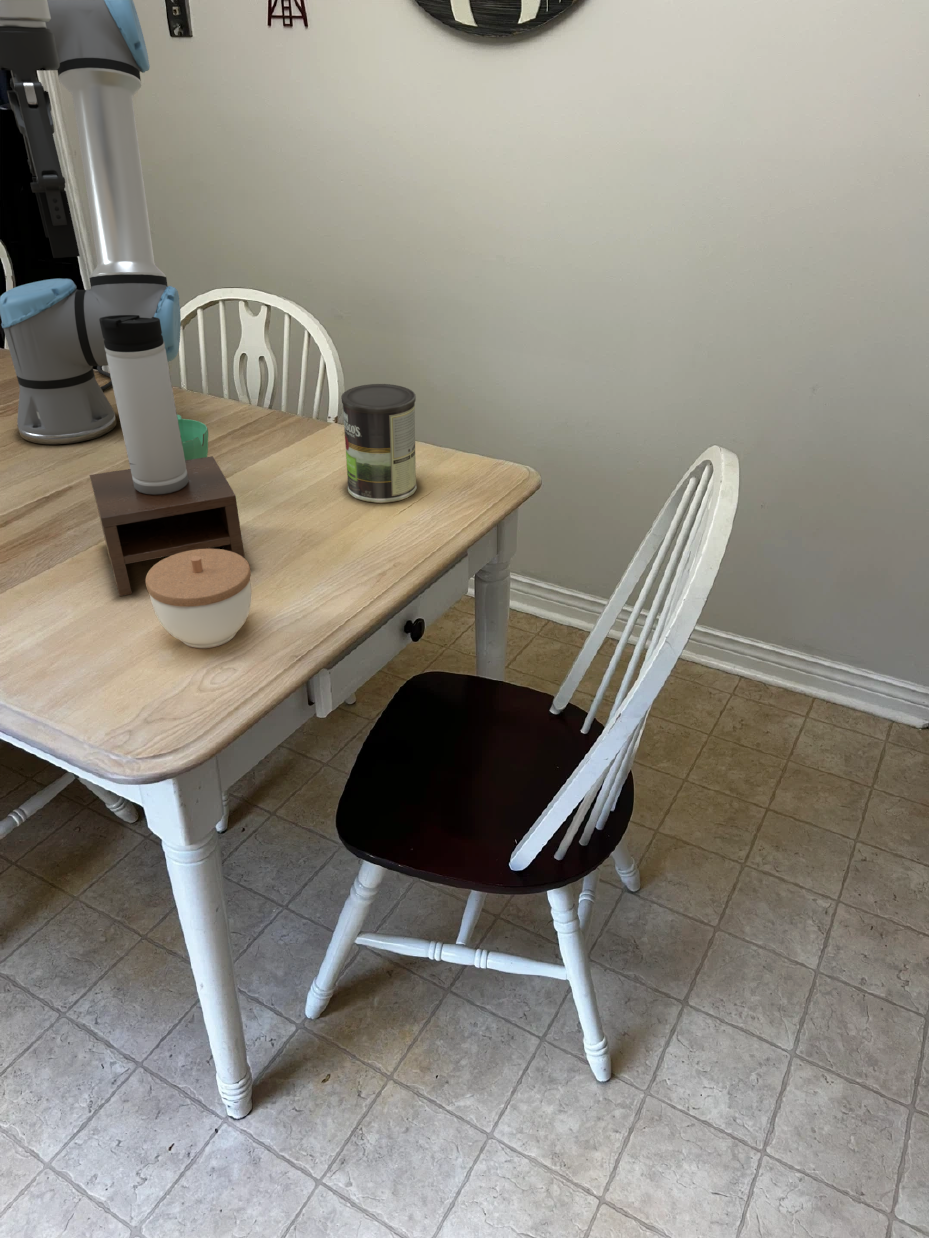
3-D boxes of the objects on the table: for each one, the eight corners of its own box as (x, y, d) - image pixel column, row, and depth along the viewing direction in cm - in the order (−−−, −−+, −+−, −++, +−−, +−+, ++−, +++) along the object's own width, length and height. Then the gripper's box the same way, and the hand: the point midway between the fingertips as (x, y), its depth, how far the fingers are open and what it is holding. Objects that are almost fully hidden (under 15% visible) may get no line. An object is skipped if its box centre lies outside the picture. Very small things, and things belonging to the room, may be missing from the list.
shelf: (107, 548, 112) (89, 475, 107) (223, 526, 118) (212, 456, 112) (119, 596, 102) (100, 518, 97) (246, 570, 108) (235, 495, 102)
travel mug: (121, 492, 103) (82, 318, 92) (155, 471, 108) (122, 304, 97) (166, 500, 101) (132, 323, 90) (199, 478, 106) (170, 309, 95)
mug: (219, 508, 122) (208, 440, 117) (145, 515, 120) (131, 447, 115) (215, 468, 134) (205, 405, 129) (148, 474, 132) (136, 410, 127)
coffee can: (358, 508, 123) (352, 411, 115) (340, 479, 131) (333, 387, 123) (427, 497, 126) (425, 402, 118) (405, 470, 134) (402, 380, 127)
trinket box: (137, 639, 95) (119, 564, 90) (211, 597, 102) (199, 526, 97) (205, 672, 90) (191, 595, 85) (278, 626, 97) (269, 552, 92)
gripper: (-28, 26, 98) (22, 231, 109) (-29, 21, 79) (32, 269, 90) (44, 28, 100) (86, 227, 112) (60, 23, 82) (108, 263, 93)
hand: (62, 246), depth 101 cm, fingers open, 13 cm apart
